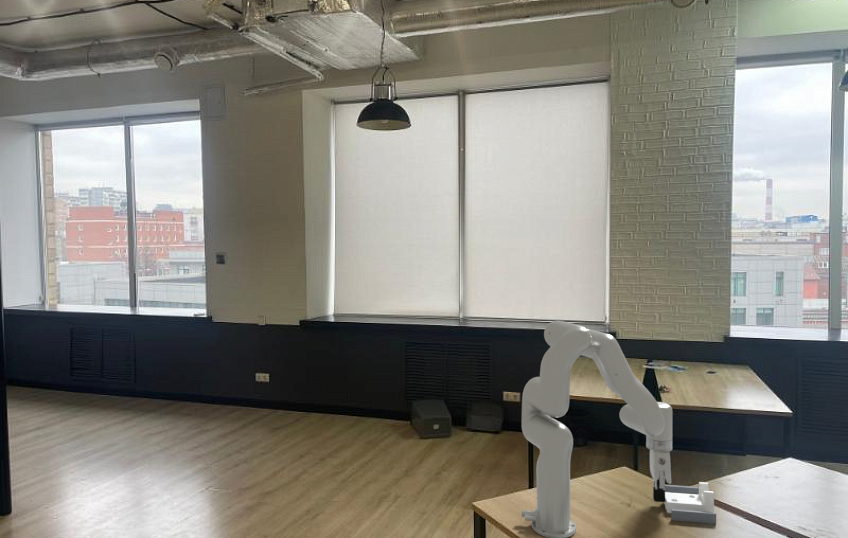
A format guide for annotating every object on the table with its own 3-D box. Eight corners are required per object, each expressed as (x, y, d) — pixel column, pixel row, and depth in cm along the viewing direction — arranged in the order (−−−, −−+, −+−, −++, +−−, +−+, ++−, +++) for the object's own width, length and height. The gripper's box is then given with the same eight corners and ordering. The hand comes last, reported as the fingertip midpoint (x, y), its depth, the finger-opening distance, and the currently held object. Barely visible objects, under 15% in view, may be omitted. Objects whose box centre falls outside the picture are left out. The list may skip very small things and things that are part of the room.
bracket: (707, 506, 178) (707, 482, 177) (713, 517, 171) (713, 492, 170) (663, 502, 181) (663, 479, 180) (667, 513, 174) (667, 489, 173)
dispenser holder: (671, 520, 169) (671, 510, 169) (661, 493, 187) (661, 484, 186) (716, 524, 166) (716, 514, 166) (701, 496, 184) (701, 487, 184)
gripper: (677, 452, 169) (676, 513, 170) (667, 435, 184) (667, 491, 185) (650, 451, 171) (650, 510, 172) (642, 434, 185) (642, 489, 186)
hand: (659, 500), depth 178 cm, fingers closed
